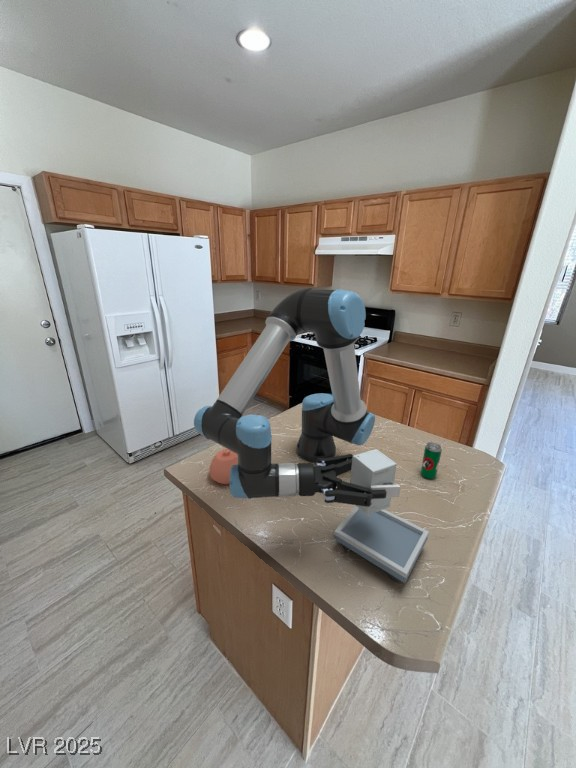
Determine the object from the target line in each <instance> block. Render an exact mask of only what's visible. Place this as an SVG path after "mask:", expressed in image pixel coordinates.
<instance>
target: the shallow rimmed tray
mask: <svg viewBox="0 0 576 768" xmlns="http://www.w3.org/2000/svg"><path fill="white" fill-rule="evenodd" d="M429 534H430V531H429V530H427V529H424V528H422V527H421V526H418V525H416V524H415V523H413V522H411V521H410V520H409V521H408V520H406V519H405V518H403V517H400V516H399V515H397V514H394V513H392V512H390V511H388V510H386V509H383V510H380V511H378V512H375V513H373V514H371V515H369V516H366V515H364V514H363V512H362V511H361V510H360V509H359V508H358V507H357V506H356V505H355V507H354V508H353V509H352V511H351V512H350V513H349V514H348V515H347V516H346V517H345V519H344V520H343V521H342V522H341V523H340V524H339V525H338V526H337V528H335V530H334V533H333V535H334V536H333V540H335V541H336V542H338V543H339V544H340V547H341V548H342V549H343V550H344V551H346V552H349V551H350V550H351V551H353V552H354V553H356V554H357V555H359V556H361V557H362V558H364V559H365V560H367V561H368V562H370V563H372V564H373V565H375V566H377V567H378V568H380V569H382V570H383V571H384V572H386V573H388V575H389V577H390V579H391V580H392V581H393V582H395V583H398V584H401V583H404V584H406V582H407V580H408V578H409V576H410V574H411V572H412V570H413V568H414V566H415V564H416V562H417V561H418V558H419V556H420V554H421V552H423V549H424V547H425V545H426V543H427V541H428V538H429Z"/></svg>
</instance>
